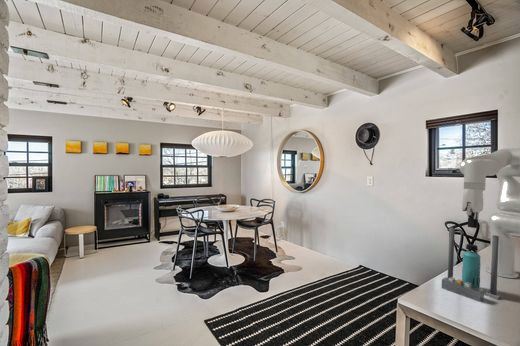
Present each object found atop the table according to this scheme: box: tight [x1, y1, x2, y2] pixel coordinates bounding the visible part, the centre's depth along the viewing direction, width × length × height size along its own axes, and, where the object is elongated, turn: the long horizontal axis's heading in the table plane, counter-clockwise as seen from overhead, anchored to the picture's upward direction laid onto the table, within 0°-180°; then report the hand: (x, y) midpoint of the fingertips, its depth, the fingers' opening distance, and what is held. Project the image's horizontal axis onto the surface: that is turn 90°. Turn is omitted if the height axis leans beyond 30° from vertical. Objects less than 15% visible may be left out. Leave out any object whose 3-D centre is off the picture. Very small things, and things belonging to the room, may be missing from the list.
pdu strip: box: [441, 276, 485, 303], centre depth 113 cm, size 4×14×5 cm, turn 32°
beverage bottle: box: [461, 243, 482, 288], centre depth 117 cm, size 6×7×20 cm
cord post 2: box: [484, 235, 502, 300], centre depth 111 cm, size 4×4×26 cm
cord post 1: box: [446, 227, 457, 281], centre depth 124 cm, size 4×4×26 cm
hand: (472, 227), depth 117 cm, fingers closed
